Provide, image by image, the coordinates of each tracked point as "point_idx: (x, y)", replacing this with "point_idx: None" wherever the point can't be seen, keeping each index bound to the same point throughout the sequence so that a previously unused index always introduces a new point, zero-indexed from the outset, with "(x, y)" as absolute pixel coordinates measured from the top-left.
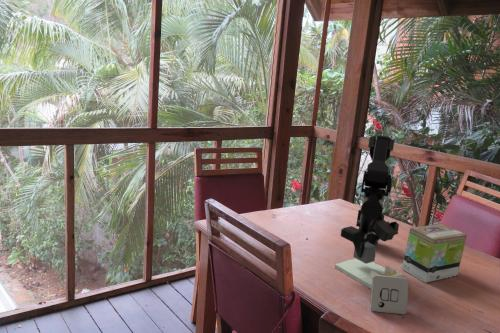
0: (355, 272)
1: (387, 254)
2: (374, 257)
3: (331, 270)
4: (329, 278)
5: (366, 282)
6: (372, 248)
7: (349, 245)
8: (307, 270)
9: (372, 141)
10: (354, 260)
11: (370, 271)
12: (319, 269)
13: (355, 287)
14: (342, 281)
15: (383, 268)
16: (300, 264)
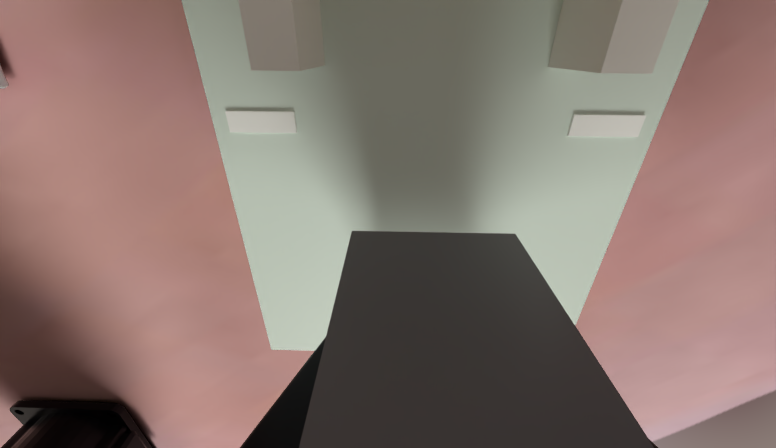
0: (564, 222)
1: (21, 302)
2: (354, 262)
3: (603, 323)
4: (739, 266)
5: (697, 24)
6: (472, 436)
7: (224, 437)
8: (720, 374)
9: None
10: None
11: (419, 172)
12: (651, 357)
13: (766, 65)
14: (722, 196)
15: (240, 151)
16: (671, 419)
